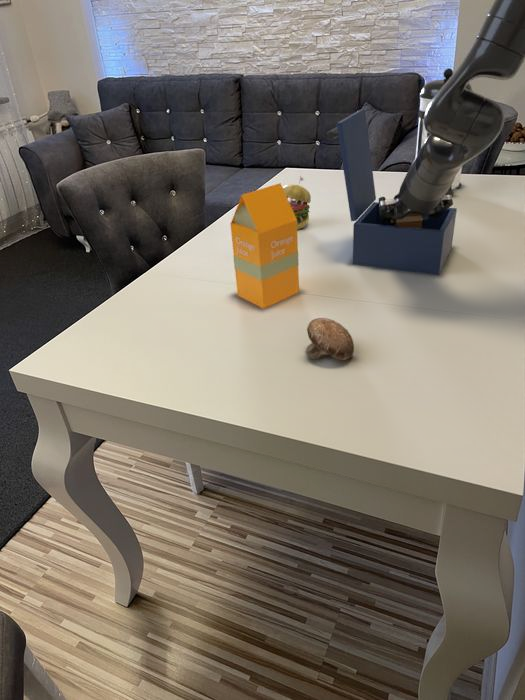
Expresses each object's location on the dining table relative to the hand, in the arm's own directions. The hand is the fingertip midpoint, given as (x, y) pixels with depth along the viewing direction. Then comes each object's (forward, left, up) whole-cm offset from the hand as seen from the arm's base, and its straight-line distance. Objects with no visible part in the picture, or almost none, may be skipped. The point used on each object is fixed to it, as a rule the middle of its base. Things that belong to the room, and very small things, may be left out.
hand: (402, 224), depth 108 cm
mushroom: (+33, +25, -7) cm, 41 cm away
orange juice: (+32, +2, -7) cm, 32 cm away
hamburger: (+10, -27, -7) cm, 30 cm away
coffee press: (-34, -28, -7) cm, 45 cm away
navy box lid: (+7, -6, +12) cm, 15 cm away
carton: (+1, +2, -4) cm, 5 cm away
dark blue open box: (+1, +2, -7) cm, 7 cm away
